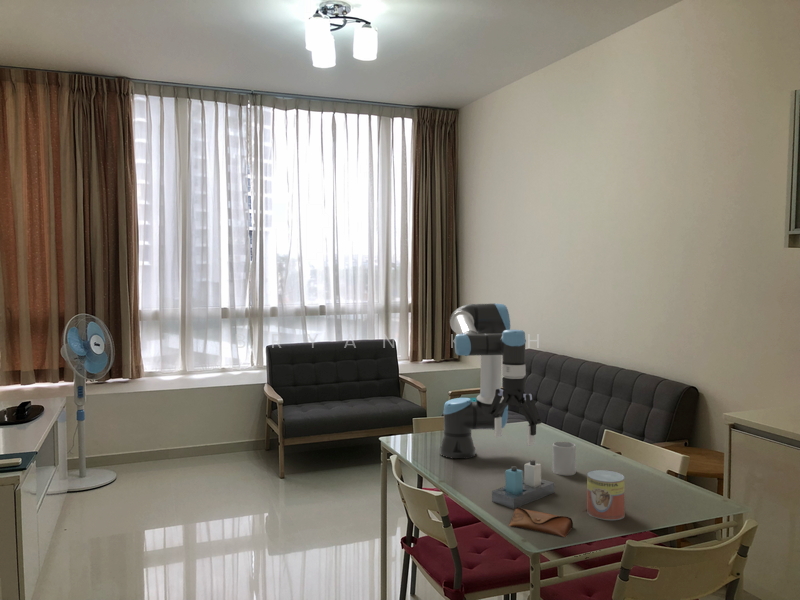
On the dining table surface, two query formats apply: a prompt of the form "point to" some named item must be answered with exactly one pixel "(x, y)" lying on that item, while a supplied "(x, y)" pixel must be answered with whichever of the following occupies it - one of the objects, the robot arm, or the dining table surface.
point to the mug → (564, 458)
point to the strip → (522, 494)
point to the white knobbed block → (532, 474)
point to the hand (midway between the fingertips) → (514, 440)
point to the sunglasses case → (541, 522)
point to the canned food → (605, 494)
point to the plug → (514, 480)
